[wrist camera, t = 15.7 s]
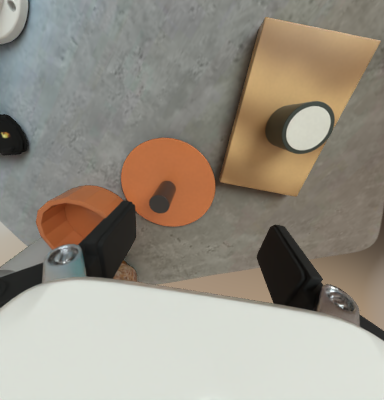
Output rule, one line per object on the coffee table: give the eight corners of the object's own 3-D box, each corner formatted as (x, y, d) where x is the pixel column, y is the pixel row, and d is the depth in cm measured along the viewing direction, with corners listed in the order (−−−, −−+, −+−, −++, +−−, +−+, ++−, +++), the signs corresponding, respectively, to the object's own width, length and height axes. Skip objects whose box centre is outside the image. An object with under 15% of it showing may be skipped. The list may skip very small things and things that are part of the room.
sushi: (274, 101, 19) (295, 96, 14) (313, 109, 19) (346, 106, 15) (259, 142, 21) (274, 149, 17) (294, 149, 21) (318, 158, 17)
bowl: (55, 178, 28) (24, 191, 23) (136, 193, 28) (122, 209, 24) (70, 239, 35) (49, 259, 30) (136, 251, 35) (124, 273, 30)
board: (259, 26, 18) (265, 16, 16) (363, 48, 18) (381, 40, 16) (219, 178, 26) (220, 182, 24) (290, 191, 26) (296, 196, 24)
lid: (122, 128, 23) (94, 131, 17) (225, 147, 24) (232, 158, 18) (125, 214, 31) (106, 238, 25) (204, 229, 31) (204, 256, 25)
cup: (39, 242, 36) (-15, 282, 27) (54, 222, 33) (-1, 261, 24) (73, 262, 38) (33, 306, 30) (89, 246, 35) (51, 289, 27)
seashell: (133, 250, 34) (120, 306, 29) (145, 258, 42) (137, 304, 36) (86, 248, 35) (65, 303, 29) (107, 257, 42) (93, 301, 37)
